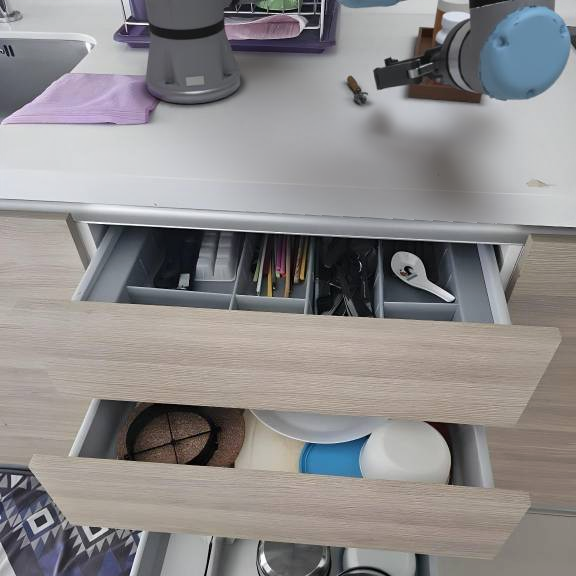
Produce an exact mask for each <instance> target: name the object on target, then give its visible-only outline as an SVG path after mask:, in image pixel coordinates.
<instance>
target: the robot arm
mask: <svg viewBox="0 0 576 576" xmlns="http://www.w3.org/2000/svg"><path fill="white" fill-rule="evenodd" d="M266 1H268V0H144V4H145V10H146V16H147V22H148V29H149V34H150V36H149V38H150V40H149V47H148V56H147V63H146V64H147V65H146V70H145V71H146V73H145V79H146V85H147V86H146V87H147V91H148V92H149V93H150V95H152V96H153V97H155V98H156V99H158V100H162V101H165V102H168V103H174V104H184V105H185V104H186V105H190V104H192V105H193V104H204V103H209V102H215V101H218V100H222V99H224V98H226V97H228V96H230V95H232V94H233V93H235V92H236V91H237V90H238V89H239V88H240V85H241V73H240V68H239V65H238V62H237V59H236V57H235V54H234V51H233V49H232V46H231V44H230V43H231V42H230V40H229V38H228V35H227V32H226V25H225V8H229V7H236V6H241V5H247V4H253V3H260V2H266ZM406 1H407V0H336V2H338V4H340V5H342V6H344V7H346V8H349V9H364V8H365V9H366V8H367V9H368V8H380V7H381V8H388V7H392V6H396V5H397V4H398V3H401V2H406ZM555 7H556V0H469V9H470V18H468V19H466V20H463V21H461V22H460V23H458V24H457V25H456V26H455V27H454V28H453V29H452V30H451V31H450V32H449V33H448V35H447V36H446V38H445V40H444V42H443V44H442V45H441V46H437V47H433V48H431V49H429V50H426V51H425V53H424V55H421V56H417V57H415V56H414V57H410V58H405V59H402V60H399V59H397V58H396V59H395V58H392V56H390V57H387V58H384V59H383V62H384V66H383V67H380V66H379V67H376V68H373V70H372V72H373V76H374V82H375V87H376V90H377V91H382V90H384V89H391V88H395V87H402V86H408V85H409V86H410V85H414V84H416V85H418V84H420V83H422V82H423V80H424V78H423V77H426V76H427V77H428V78H429V79H431V80H432V79H436V78H441V77H444V78H445V79H446V81H447V82H448V83H449V84H450V85H451V86H453V87H455V88H457V89H459V90H464V91H468V92H475V93H480V94H482V95H484V96H485V95H486V96H488V97H489V98H490V99H495V100H497V101H504V102H507V101H524V100H530V99H532V98H536V97H537V96H540V95H542V94H543V93H545V92H547V90H549V89H550V88H551V87H553V85H555V83H556V82H557V81H558V80H559V78H560V77H561V76H562V74H563V72H564V70H565V68H566V66H567V64H568V61H569V57H570V54H571V48H572V47H571V45H572V42H571V41H572V40H571V35H570V32H569V29H568V26H567V23H565V20H564V19H563V18H562V17H561V15H560V14H559V13H557V12H556V11H555V10H556V9H555ZM472 8H474V9H472ZM439 51H440V52H439ZM436 52H439V53H437V54H436Z"/></svg>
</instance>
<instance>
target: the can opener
mask: <svg viewBox="0 0 576 576" xmlns="http://www.w3.org/2000/svg"><path fill="white" fill-rule="evenodd" d="M346 80H347V83H348V85H349V86H350V87H351V89H353V91H354V93H355V94H354V95H353V99H354V101H355V102H357V103H360V104H362V103H367V96H369V93H368V92H366V91H363V90H362V88H361V86H360V85H359V84H358V82H357V80H356V79H355V78H354V76H352V75H348V76H347V78H346Z"/></svg>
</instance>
